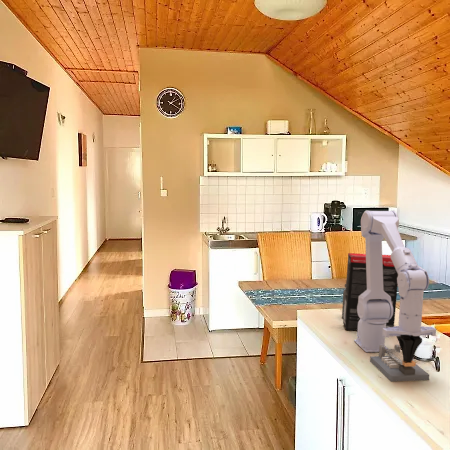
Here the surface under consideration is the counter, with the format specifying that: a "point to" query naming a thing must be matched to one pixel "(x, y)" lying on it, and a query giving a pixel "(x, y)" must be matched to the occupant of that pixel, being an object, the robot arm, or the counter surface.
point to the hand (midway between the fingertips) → (407, 360)
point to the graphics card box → (358, 285)
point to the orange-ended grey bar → (399, 357)
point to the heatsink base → (397, 367)
